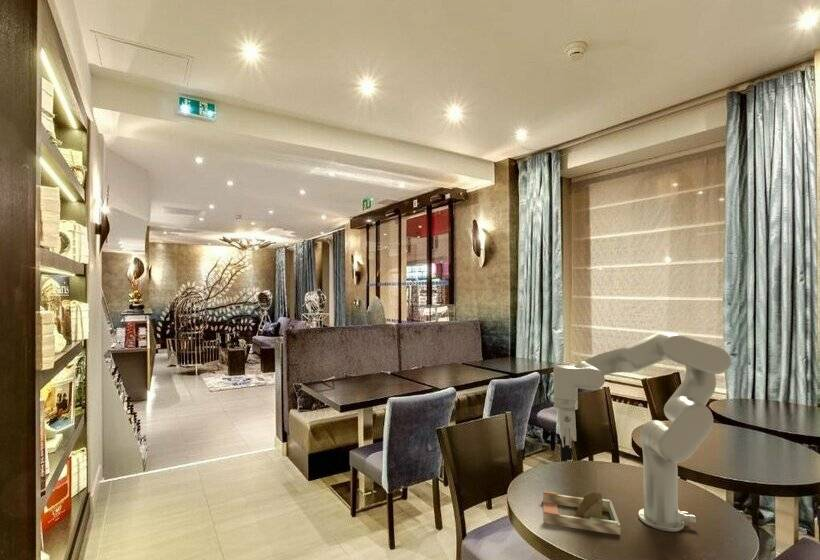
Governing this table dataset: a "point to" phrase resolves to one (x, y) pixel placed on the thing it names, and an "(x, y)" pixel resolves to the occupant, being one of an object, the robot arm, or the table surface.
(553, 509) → the pads
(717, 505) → the table surface
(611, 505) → the box
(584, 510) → the rock
